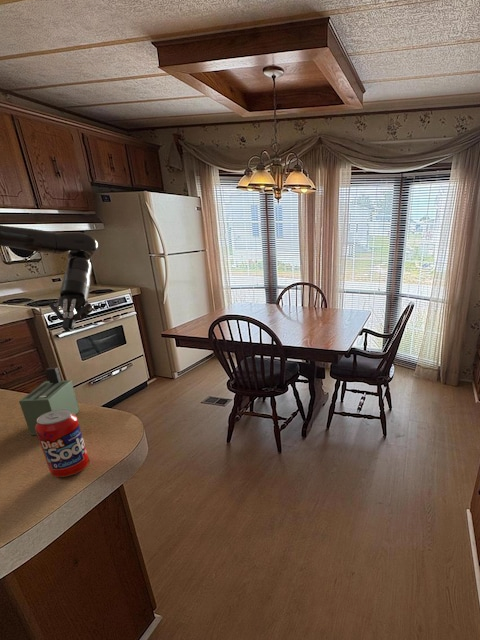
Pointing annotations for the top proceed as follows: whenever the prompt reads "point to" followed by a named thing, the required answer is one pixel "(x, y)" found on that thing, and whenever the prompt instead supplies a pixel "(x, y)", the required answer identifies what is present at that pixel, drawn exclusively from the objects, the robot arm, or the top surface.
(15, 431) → the top surface
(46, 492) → the top surface
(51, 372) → the slider
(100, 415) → the top surface
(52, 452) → the soda can
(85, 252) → the robot arm
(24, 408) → the toaster
